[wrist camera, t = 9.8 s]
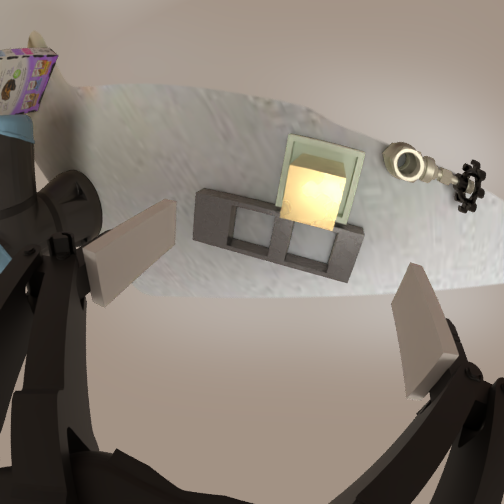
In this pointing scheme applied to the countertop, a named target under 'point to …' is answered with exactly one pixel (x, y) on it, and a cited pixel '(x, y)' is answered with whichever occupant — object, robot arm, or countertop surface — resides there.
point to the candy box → (24, 78)
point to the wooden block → (313, 191)
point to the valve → (435, 173)
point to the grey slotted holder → (222, 227)
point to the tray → (329, 151)
